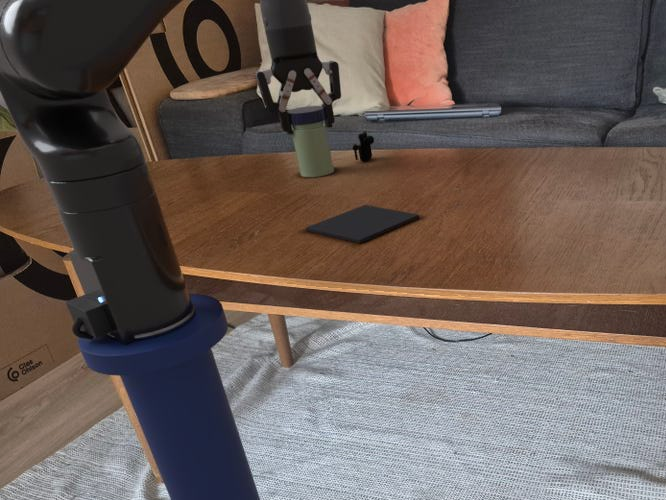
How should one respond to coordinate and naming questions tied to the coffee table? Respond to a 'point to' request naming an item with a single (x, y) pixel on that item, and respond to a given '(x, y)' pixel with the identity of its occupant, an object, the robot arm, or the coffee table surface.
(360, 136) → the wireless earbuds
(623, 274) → the coffee table surface
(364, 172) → the coffee table surface
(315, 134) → the jar
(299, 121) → the jar lid
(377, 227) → the coaster
